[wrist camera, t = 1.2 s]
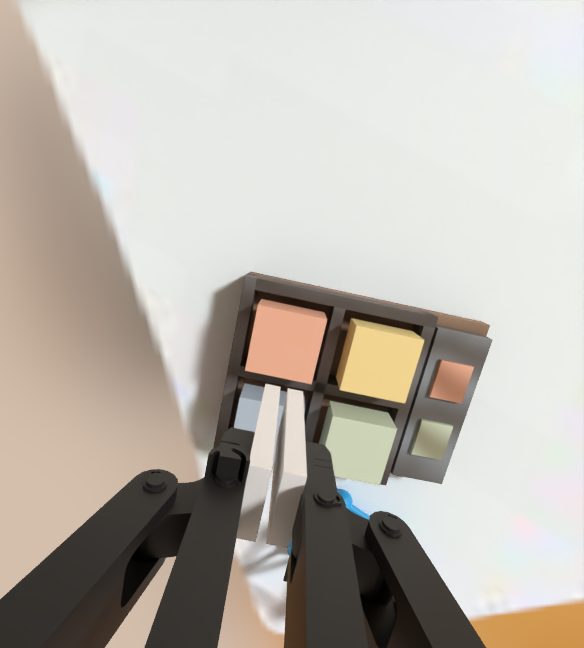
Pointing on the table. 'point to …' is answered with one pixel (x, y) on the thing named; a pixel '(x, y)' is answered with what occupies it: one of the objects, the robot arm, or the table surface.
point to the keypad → (409, 418)
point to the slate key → (255, 409)
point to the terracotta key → (286, 341)
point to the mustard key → (378, 360)
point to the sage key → (358, 441)
